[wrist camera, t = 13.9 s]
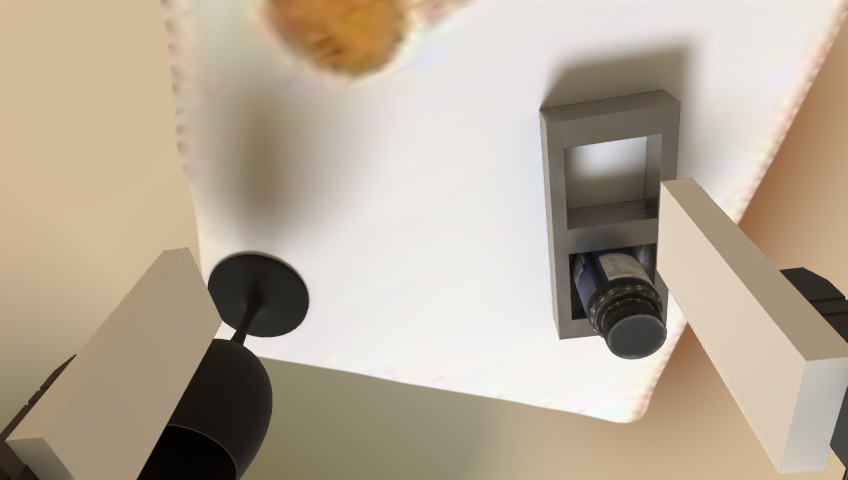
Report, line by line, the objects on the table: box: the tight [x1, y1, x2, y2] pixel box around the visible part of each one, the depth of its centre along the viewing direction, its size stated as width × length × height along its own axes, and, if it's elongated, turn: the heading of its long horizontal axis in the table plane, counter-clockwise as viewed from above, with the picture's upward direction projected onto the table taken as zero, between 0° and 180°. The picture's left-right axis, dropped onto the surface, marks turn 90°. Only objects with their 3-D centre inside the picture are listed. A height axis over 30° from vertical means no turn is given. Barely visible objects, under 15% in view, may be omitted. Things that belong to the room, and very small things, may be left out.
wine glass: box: [136, 255, 309, 480], centre depth 48 cm, size 10×10×20 cm
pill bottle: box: [571, 246, 667, 359], centre depth 48 cm, size 6×6×11 cm
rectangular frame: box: [539, 90, 680, 340], centre depth 49 cm, size 22×10×4 cm, turn 10°
